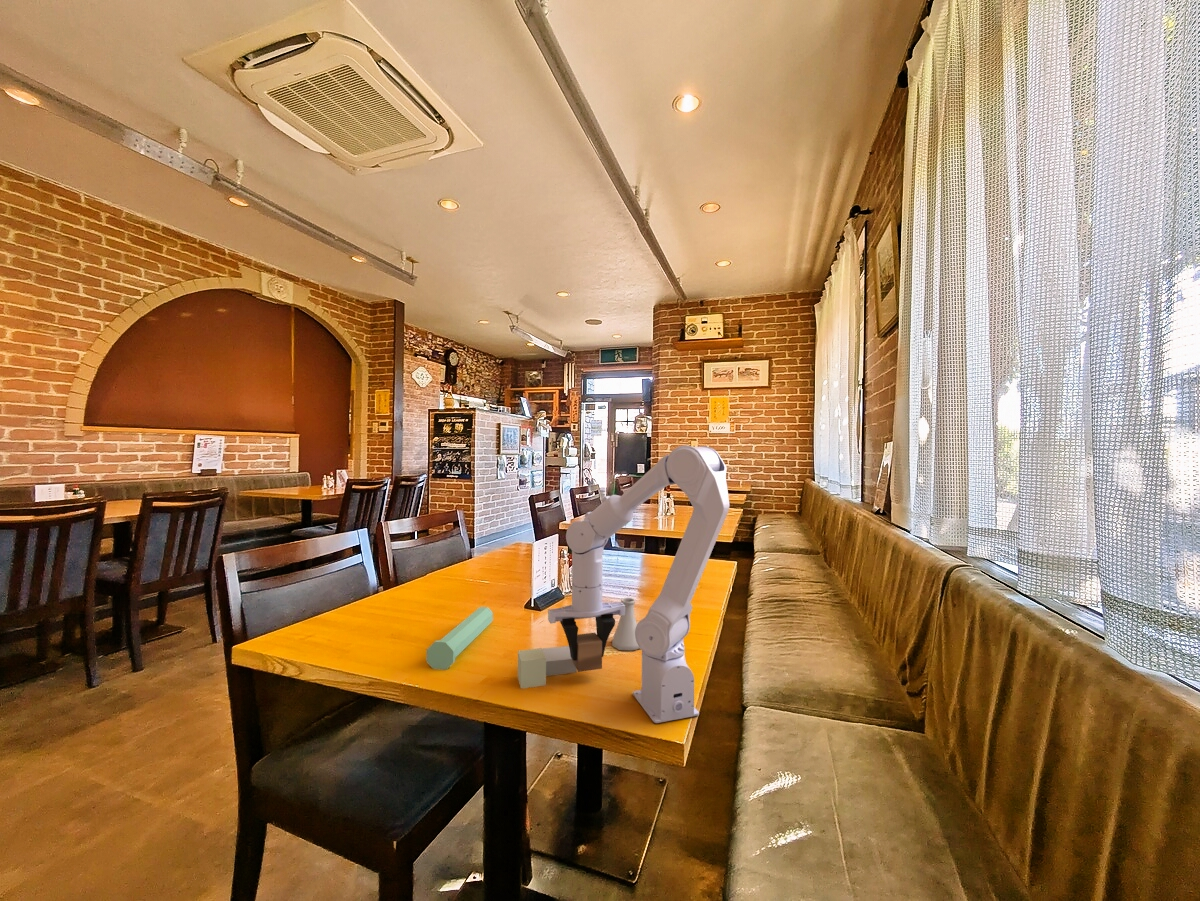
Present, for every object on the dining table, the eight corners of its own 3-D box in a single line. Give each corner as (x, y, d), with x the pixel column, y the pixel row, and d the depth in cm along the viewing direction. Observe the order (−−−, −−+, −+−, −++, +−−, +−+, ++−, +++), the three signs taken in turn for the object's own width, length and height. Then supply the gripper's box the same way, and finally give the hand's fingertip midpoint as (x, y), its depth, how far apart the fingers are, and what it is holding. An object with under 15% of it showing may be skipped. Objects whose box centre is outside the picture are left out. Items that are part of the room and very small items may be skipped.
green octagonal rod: (480, 598, 115) (432, 635, 91) (501, 608, 115) (459, 649, 90) (471, 620, 116) (420, 663, 91) (492, 630, 115) (447, 676, 90)
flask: (616, 653, 98) (617, 606, 98) (607, 640, 105) (607, 595, 105) (648, 650, 100) (649, 603, 100) (637, 637, 107) (637, 593, 107)
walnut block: (602, 668, 86) (602, 641, 86) (578, 671, 84) (578, 644, 84) (594, 658, 90) (594, 632, 90) (572, 661, 89) (572, 635, 89)
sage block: (545, 685, 85) (546, 657, 85) (521, 689, 83) (521, 661, 83) (541, 674, 89) (541, 647, 89) (517, 677, 87) (517, 650, 87)
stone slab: (576, 673, 90) (576, 658, 90) (545, 677, 88) (545, 661, 88) (570, 660, 95) (570, 645, 95) (540, 663, 94) (541, 648, 94)
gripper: (616, 575, 93) (616, 643, 93) (544, 581, 89) (544, 652, 89) (629, 585, 87) (629, 658, 86) (552, 591, 82) (552, 669, 82)
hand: (587, 656), depth 87 cm, fingers closed on walnut block, 4 cm apart
